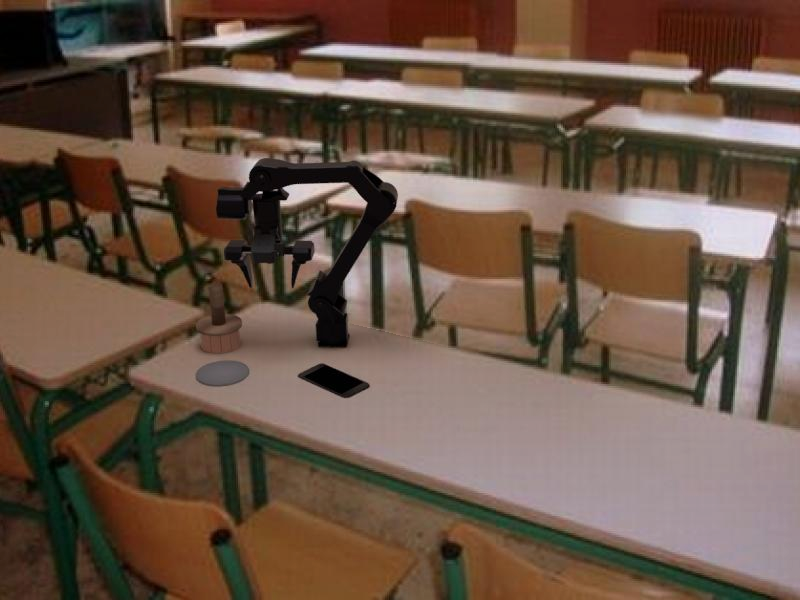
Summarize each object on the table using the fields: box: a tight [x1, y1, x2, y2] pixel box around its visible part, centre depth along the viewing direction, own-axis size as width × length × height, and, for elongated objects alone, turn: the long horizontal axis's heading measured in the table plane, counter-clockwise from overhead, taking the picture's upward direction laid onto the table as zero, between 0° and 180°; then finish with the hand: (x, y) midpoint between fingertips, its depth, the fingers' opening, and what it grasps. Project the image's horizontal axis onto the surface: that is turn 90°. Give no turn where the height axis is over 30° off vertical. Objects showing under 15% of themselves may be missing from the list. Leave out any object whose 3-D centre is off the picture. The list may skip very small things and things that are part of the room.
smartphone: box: [297, 362, 371, 399], centre depth 196 cm, size 7×15×1 cm, turn 47°
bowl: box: [199, 329, 242, 354], centre depth 212 cm, size 8×8×4 cm
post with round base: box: [195, 283, 243, 336], centre depth 209 cm, size 10×10×10 cm
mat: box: [195, 359, 250, 387], centre depth 200 cm, size 11×11×1 cm
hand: (272, 287), depth 209 cm, fingers open, 9 cm apart
